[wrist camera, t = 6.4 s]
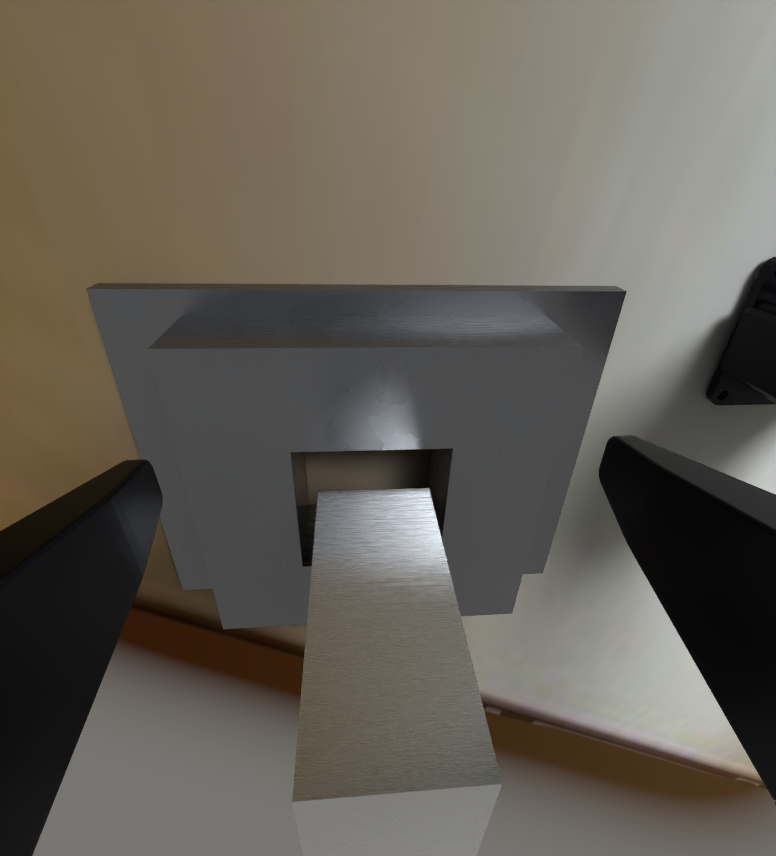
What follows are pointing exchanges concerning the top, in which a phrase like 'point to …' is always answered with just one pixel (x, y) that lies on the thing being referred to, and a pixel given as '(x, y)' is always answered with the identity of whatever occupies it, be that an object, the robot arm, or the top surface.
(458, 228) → the top surface
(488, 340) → the stand base
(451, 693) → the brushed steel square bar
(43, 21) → the top surface
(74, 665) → the robot arm
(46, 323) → the top surface
